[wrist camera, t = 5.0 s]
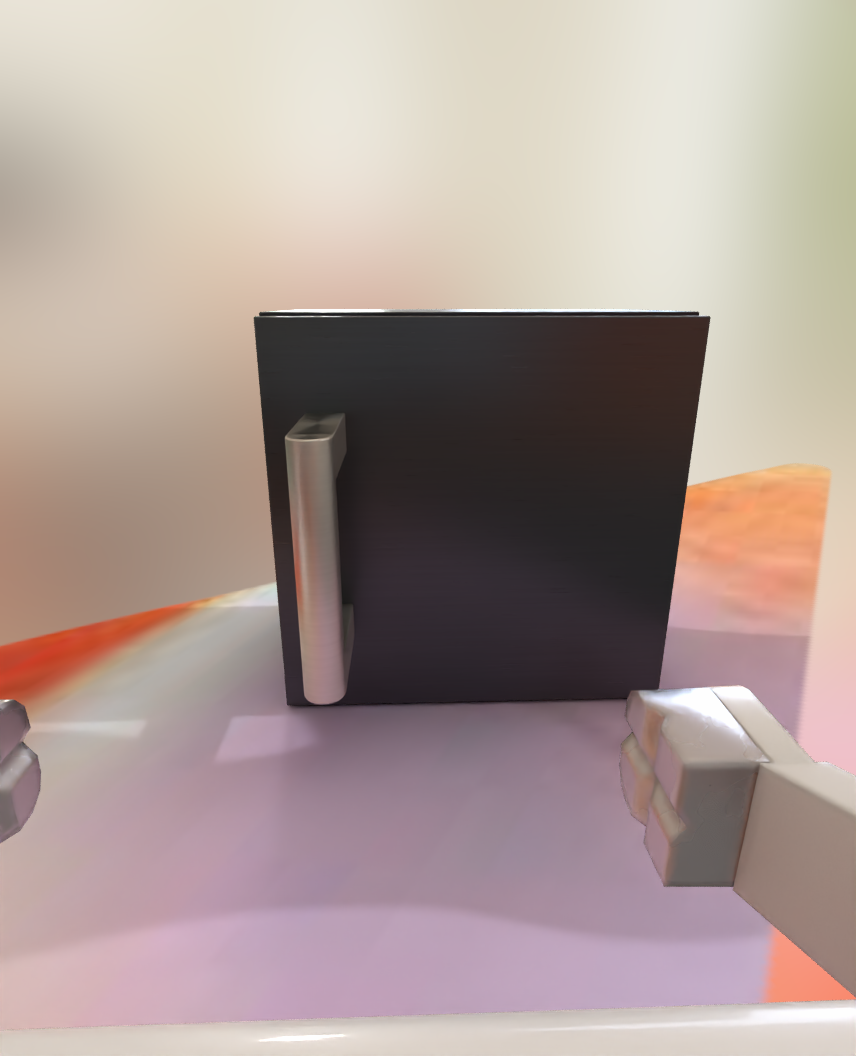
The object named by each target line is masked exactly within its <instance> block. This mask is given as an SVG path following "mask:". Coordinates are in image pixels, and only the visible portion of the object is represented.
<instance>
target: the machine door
mask: <svg viewBox="0 0 856 1056" xmlns="http://www.w3.org/2000/svg"><path fill="white" fill-rule="evenodd" d="M709 324H710V316H255V317H254V326H255V337H256V349H257V362H258V373H259V384H260V396H261V408H262V419H263V429H264V442H265V454H266V466H267V477H268V489H269V500H270V512H271V524H272V534H273V547H274V558H275V570H276V580H277V581H276V582H277V593H278V605H279V616H280V628H281V640H282V651H283V663H284V674H285V686H286V698H287V705H319V704H364V703H409V702H455V701H500V700H546V699H591V698H628V696H629V694H630V692H631V690H655V689H659V682H660V675H661V668H662V661H663V653H664V646H665V639H666V632H667V625H668V618H669V610H670V603H671V596H672V589H673V582H674V575H675V567H676V560H677V553H678V546H679V539H680V532H681V524H682V517H683V510H684V503H685V496H686V489H687V481H688V473H689V467H690V460H691V452H692V446H693V438H694V431H695V423H696V417H697V410H698V402H699V395H700V388H701V381H702V374H703V367H704V359H705V352H706V345H707V337H708V331H709Z"/></svg>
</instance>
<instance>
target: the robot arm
mask: <svg viewBox="0 0 856 1056" xmlns="http://www.w3.org/2000/svg"><path fill="white" fill-rule="evenodd" d="M625 718H626V720H627V722H628V724H629V726H630V728H631V729H632V731H633V732H632V733H631V734H630V735H629V736H628V737H627V738H626V739H625V740H624V741H623V742H622V744H621V751H620V762H619V767H620V778H621V786H622V790H623V794H624V798H625V801H626V803H627V806H628V808H629V810H630V813H631V815H632V816H633V817H634V818H636V819H637V820H638V821H640V822H641V823H642V824H644V825H645V826H646V831H645V838H644V844H645V846H646V848H647V851H648V853H649V855H650V857H651V859H652V862H653V864H654V866H655V868H656V870H657V872H658V875H659V877H660V879H661V881H662V883H663V886H664V887H733V891H735V892H736V893H737V894H738V895H739V896H740V897H741V898H743V899H744V900H745V901H746V902H747V903H748V904H749V905H751V906H752V907H753V908H754V909H755V910H756V911H757V912H759V913H760V914H761V915H762V916H763V917H764V918H765V919H767V920H768V921H769V922H770V923H771V924H772V925H773V926H775V927H776V928H777V929H778V930H779V931H780V932H781V933H783V934H784V935H785V936H786V937H787V938H788V939H789V940H791V941H792V942H793V943H794V944H795V945H796V946H797V947H799V948H800V949H801V950H802V951H803V952H804V953H806V954H807V955H808V956H809V957H810V958H811V959H813V960H814V961H815V962H816V963H817V964H818V965H819V966H820V967H822V968H823V969H824V970H825V971H826V972H827V973H828V974H830V975H831V976H832V977H833V978H834V979H835V980H837V981H838V982H839V983H840V984H841V985H842V986H843V987H845V988H846V989H847V990H848V991H849V992H850V993H851V994H852V995H854V996H855V997H856V776H855V775H853V774H851V773H849V772H847V771H845V770H843V769H841V768H839V767H837V766H835V765H833V764H831V763H829V762H814V760H813V759H812V758H811V757H810V756H809V755H808V754H807V753H806V752H805V751H804V750H803V748H802V747H801V746H800V745H799V744H798V743H797V742H796V741H795V740H794V738H793V737H792V736H791V735H790V734H789V733H788V732H787V731H786V730H785V729H784V727H783V726H782V725H781V724H780V723H779V722H778V721H777V720H776V719H775V718H774V716H773V715H772V714H771V713H770V712H769V711H768V710H767V709H766V708H765V707H764V706H763V704H762V703H761V702H760V701H759V700H758V699H757V698H756V697H755V696H754V695H753V693H752V692H751V691H750V690H749V689H747V688H745V687H742V686H740V685H735V686H716V687H703V688H682V689H655V690H631V692H630V694H629V696H628V699H627V703H626V710H625ZM30 728H31V727H30V723H29V720H28V716H27V713H26V710H25V706H24V705H22V704H20V703H19V702H17V701H15V700H0V843H1V842H3V841H4V840H6V839H8V838H9V837H11V836H12V835H14V834H15V833H17V832H19V831H20V830H21V829H22V827H23V826H24V824H25V823H26V821H27V820H28V818H29V817H30V816H31V814H32V813H33V810H34V807H35V804H36V801H37V798H38V795H39V792H40V782H41V770H40V765H39V761H38V756H37V755H36V754H35V753H34V752H33V751H32V750H31V749H30V748H29V747H27V746H26V745H25V744H24V743H23V742H22V741H23V739H24V738H25V736H26V734H27V733H28V731H29V729H30ZM0 1056H856V1000H832V1001H805V1002H803V1001H802V1002H775V1003H747V1004H720V1005H693V1006H666V1007H637V1008H608V1009H579V1010H550V1011H521V1012H491V1013H462V1014H433V1015H404V1016H375V1017H346V1018H318V1019H291V1020H263V1021H235V1022H207V1023H179V1024H151V1025H123V1026H95V1027H67V1028H39V1029H11V1030H0Z"/></svg>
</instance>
